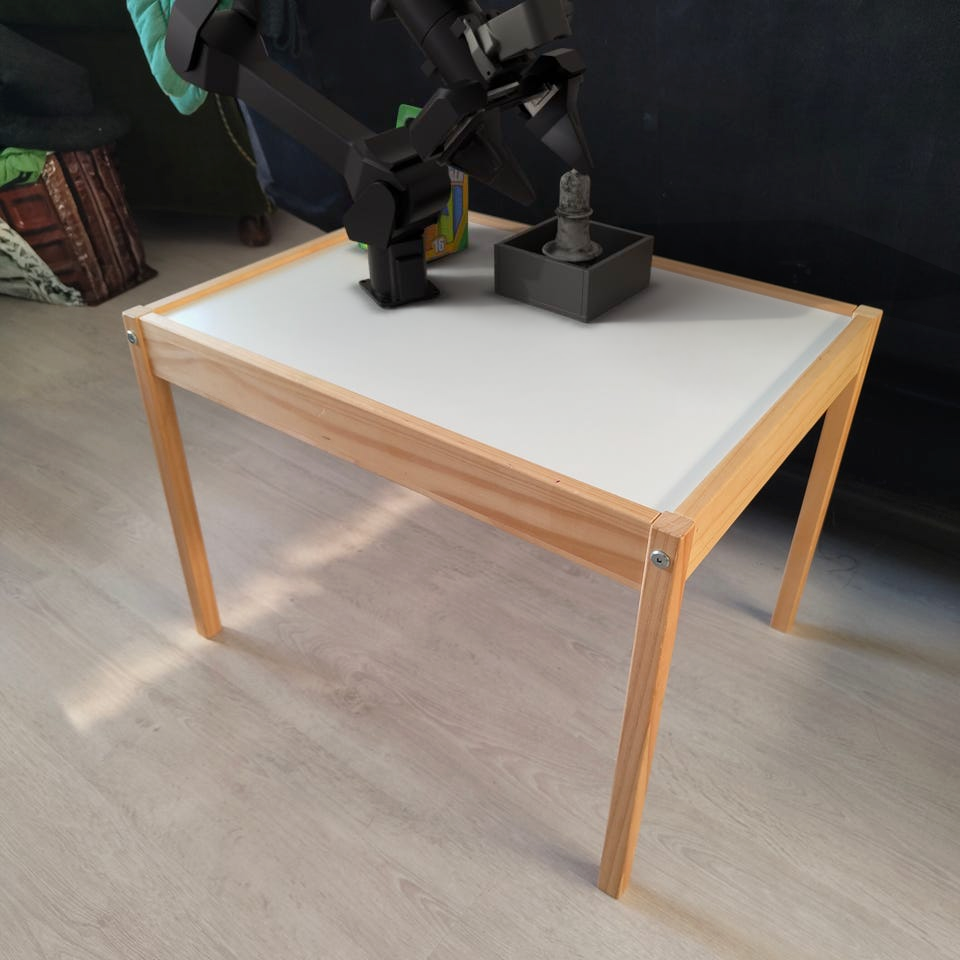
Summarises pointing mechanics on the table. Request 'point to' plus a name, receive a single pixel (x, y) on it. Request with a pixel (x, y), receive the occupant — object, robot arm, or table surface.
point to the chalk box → (444, 209)
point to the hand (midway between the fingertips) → (561, 186)
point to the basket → (573, 270)
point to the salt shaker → (574, 224)
